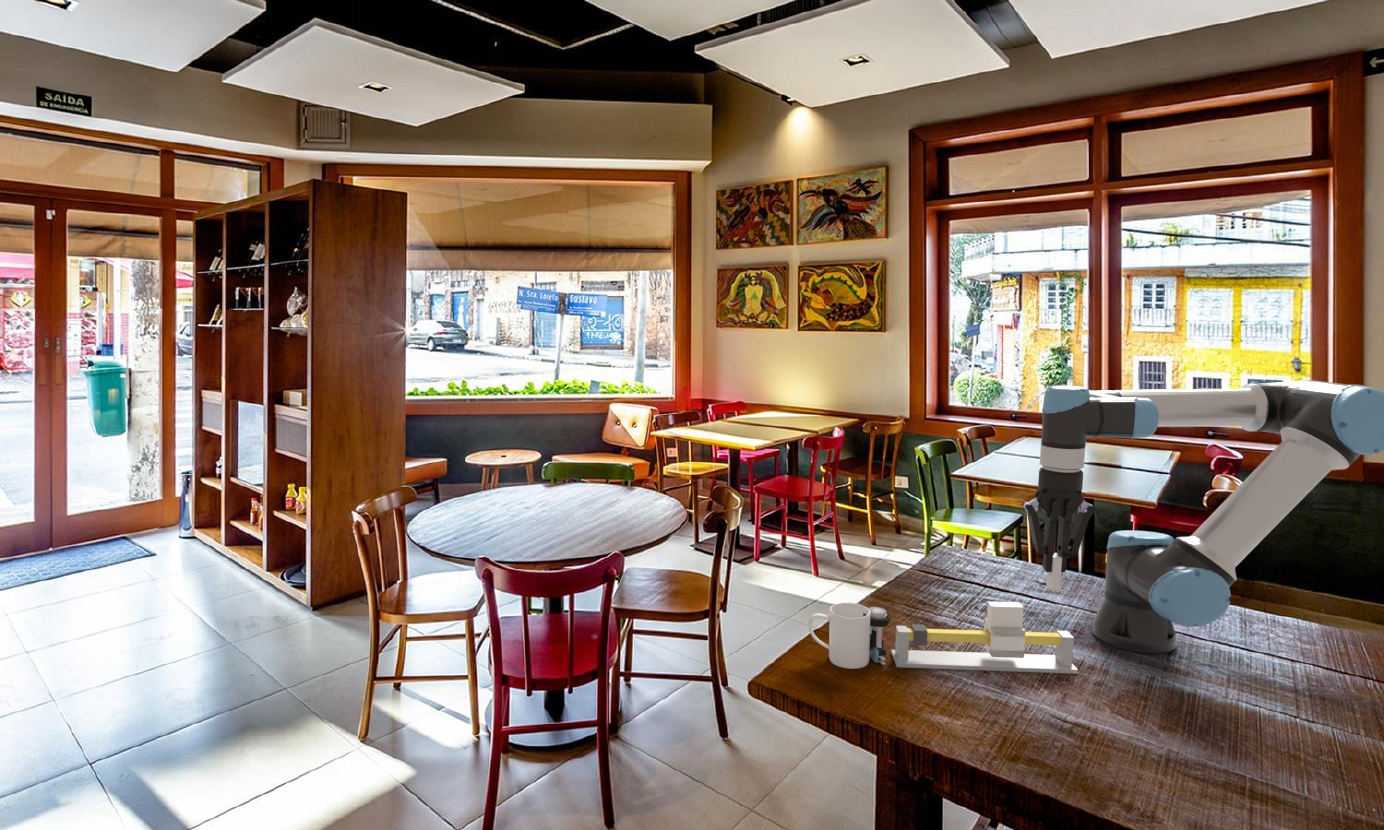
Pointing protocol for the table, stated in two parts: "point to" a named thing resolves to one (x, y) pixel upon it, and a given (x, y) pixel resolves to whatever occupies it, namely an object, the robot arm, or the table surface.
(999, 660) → the linear slide rail
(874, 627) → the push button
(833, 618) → the mug
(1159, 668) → the table surface
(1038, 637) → the long yellow bar
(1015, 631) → the white stepped block
